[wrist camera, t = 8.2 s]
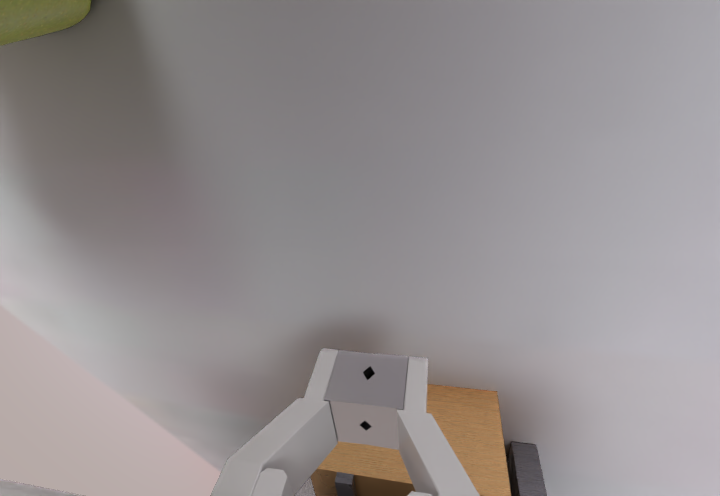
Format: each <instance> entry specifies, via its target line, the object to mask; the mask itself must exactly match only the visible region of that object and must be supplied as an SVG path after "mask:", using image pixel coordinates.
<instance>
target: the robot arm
mask: <svg viewBox="0 0 720 496" xmlns="http://www.w3.org/2000/svg"><path fill="white" fill-rule="evenodd" d="M427 385H428V358H423V357H412V356H404V355H391V354H378V353H374V354H371V353H362V352H354V351H345V350H336V349H326V348H322V350H321V351H320V353H319V355H318V358H317V361H316V364H315V367H314V369H313V372H312V375H311V378H310V381H309V384H308V387H307V389H306V392H305V395H304V398H297V399H296V400H295V401H294V402H293V403H292V404H291V405H289V406H288V407H287V408H286V409H285V410H284V411H282V412H281V413H280V414H279V415H278V416H277V417H276V418H274V419H273V420H272V421H271V422H270V423H269V424H267V425H266V426H265V427H264V428H263V429H262V430H261V431H259V432H258V433H257V434H256V435H255V436H254V437H253V438H251V439H250V440H249V441H248V442H247V443H246V444H244V445H243V446H242V447H241V448H240V449H239V450H238V451H236V452H235V453H234V454H233V455H232V456H231V457H229V458H228V459H227V461H226V463H225V466H224V468H223V470H222V472H221V474H220V476H219V478H218V481H217V483H216V485H215V487H214V489H213V491H212V493H211V495H210V496H295V494H296V493H297V492H298V491H299V490H300V488H301V487H302V486H303V485H304V484H305V482H306V481H307V480H308V479H309V478H310V476H311V475H312V474H313V473H314V471H315V470H316V469H317V468H318V467H319V465H320V464H321V463H322V462H323V461H324V459H325V458H326V457H327V456H328V455H329V453H330V452H331V451H332V450H333V448H334V447H335V446H336V445H337V444H338V443H337V441H339V442H348V443H357V444H366V445H372V446H378V447H384V448H390V449H396V450H399V452H400V455H401V457H402V460H403V462H404V464H405V467H406V469H407V471H408V474H409V476H410V479H411V481H412V483H413V486H414V488H415V491H416V492H414V491H412V492H411V493H409V494H408V495H407V496H480V495H479V494H478V492H477V490H476V488H475V487H474V485H473V483H472V482H471V480H470V478H469V477H468V475H467V473H466V472H465V470H464V468H463V466H462V465H461V463H460V461H459V460H458V458H457V456H456V455H455V453H454V451H453V450H452V448H451V446H450V444H449V443H448V441H447V439H446V438H445V436H444V434H443V433H442V431H441V429H440V427H439V426H438V424H437V422H436V421H435V419H434V417H433V416H432V414H430V413H427ZM0 496H84V495H79V494H74V493H69V492H63V491H59V490H54V489H49V488H44V487H39V486H34V485H29V484H24V483H18V482H13V481H8V480H3V479H0Z"/></svg>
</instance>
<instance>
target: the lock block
mask: <svg viewBox="0 0 720 496" xmlns="http://www.w3.org/2000/svg"><path fill="white" fill-rule="evenodd" d="M427 413H430V414H432V416H433V417H434V419H435V421H436V422H437V424H438V426H439V427H440V429H441V431H442V433H443V434H444V436H445V438H446V439H447V441H448V443H449V444H450V446H451V448H452V450H453V451H454V453H455V455H456V456H457V458H458V460H459V461H460V463H461V465H462V466H463V468H464V470H465V472H466V473H467V475H468V477H469V478H470V480H471V482H472V483H473V485H474V487H475V488H476V490H477V492H478V494H479V495H480V496H511V491H510V484H509V476H508V469H507V462H506V454H505V447H504V440H503V432H502V425H501V417H500V410H499V403H498V395H497V391H487V390H478V389H469V388H460V387H450V386H441V385H432V384H428V385H427ZM337 443H338V444H337V445H336V446H335V447H334V448H333V450H332V451H331V452H330V453H329V455H328V456H327V457H326V458H325V459H324V461H323V462H322V463H321V464H320V465H319V467H318V468H317V469H316V470H315V471H314V473H313V474H312V475H311V480H312V484H313V488H314V491H315V495H316V496H407V495H408V494H409V493H411V492H412V491H414V492H416V491H415V488H414V486H413V483H412V481H411V479H410V476H409V474H408V471H407V469H406V467H405V464H404V462H403V460H402V457H401V455H400V452H399V450H396V449H390V448H384V447H378V446H372V445H366V444H357V443H348V442H339V441H337Z"/></svg>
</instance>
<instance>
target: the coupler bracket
mask: <svg viewBox="0 0 720 496" xmlns="http://www.w3.org/2000/svg"><path fill="white" fill-rule="evenodd" d="M507 469H508V476H509V484H510V491H511V496H547V494H546V489H545V484H544V479H543V475H542V470H541V465H540V460H539V456H538V451H537V446H536V445H533V444H525V443H517V442H512V443H511V447H510V452H509V457H508V462H507Z"/></svg>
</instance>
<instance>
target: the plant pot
mask: <svg viewBox="0 0 720 496" xmlns="http://www.w3.org/2000/svg"><path fill="white" fill-rule="evenodd" d="M90 4H91V0H0V46H1V45H5V44H9V43H13V42H17V41H21V40H25V39H29V38H33V37H37V36H41V35H45V34H48V33H52V32H56V31H60V30H63V29H66V28H69V27H71V26H73V25H75V24H77V23H78V22H80V21H81V20H82V19H83V18H85V16H86V15H87V14H88V12H89V11H90Z"/></svg>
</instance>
